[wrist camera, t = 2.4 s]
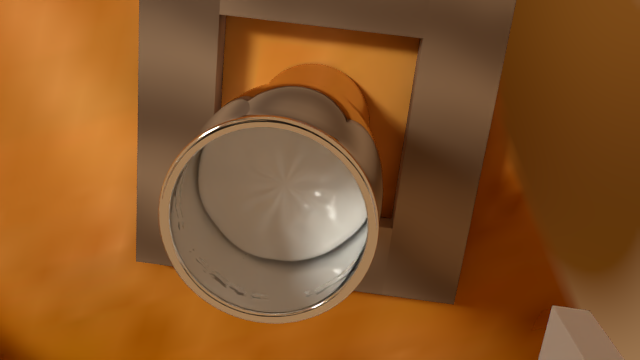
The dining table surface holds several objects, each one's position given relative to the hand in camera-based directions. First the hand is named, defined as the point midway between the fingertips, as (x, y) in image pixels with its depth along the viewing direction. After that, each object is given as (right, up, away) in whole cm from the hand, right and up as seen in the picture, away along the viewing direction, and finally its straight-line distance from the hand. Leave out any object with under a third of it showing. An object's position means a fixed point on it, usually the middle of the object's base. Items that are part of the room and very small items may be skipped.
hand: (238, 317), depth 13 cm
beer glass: (+1, +6, +19) cm, 20 cm away
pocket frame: (+1, +6, +19) cm, 20 cm away
